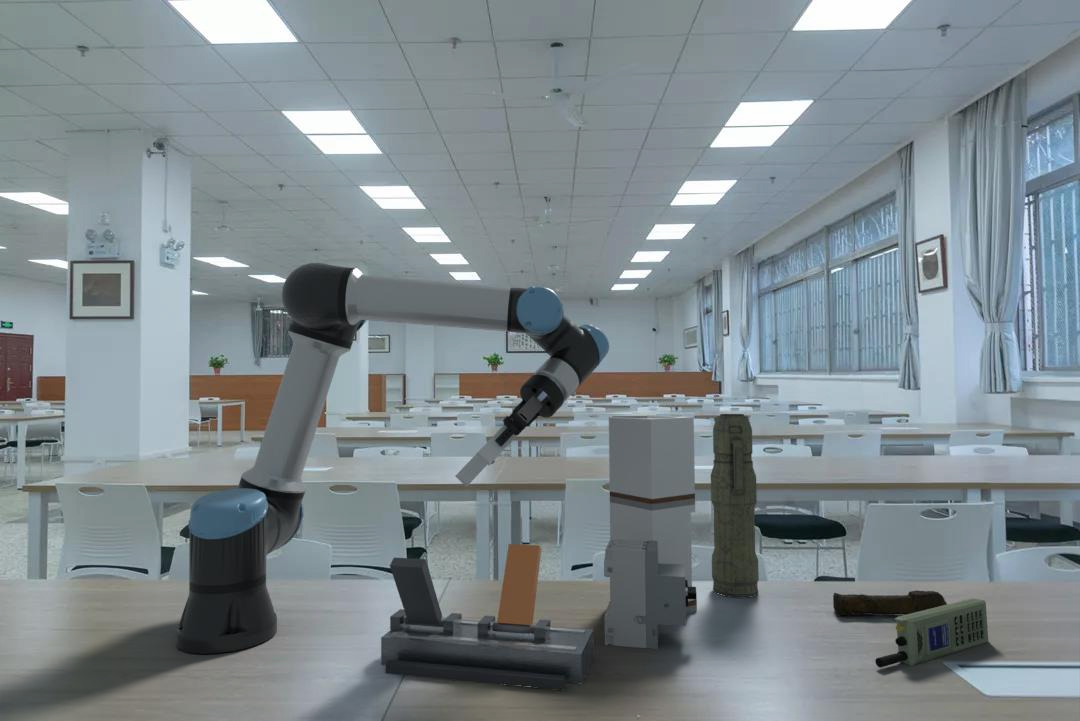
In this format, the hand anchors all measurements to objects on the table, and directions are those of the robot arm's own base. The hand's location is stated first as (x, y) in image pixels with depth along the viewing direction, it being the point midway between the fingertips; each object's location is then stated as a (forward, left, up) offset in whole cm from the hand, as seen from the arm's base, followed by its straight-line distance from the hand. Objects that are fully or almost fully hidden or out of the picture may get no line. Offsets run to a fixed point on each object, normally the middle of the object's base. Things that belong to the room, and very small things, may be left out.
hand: (471, 470), depth 114 cm
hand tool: (+68, +28, -28) cm, 79 cm away
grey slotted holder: (+5, -7, -27) cm, 29 cm away
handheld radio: (+70, +10, -28) cm, 76 cm away
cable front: (+5, -14, -27) cm, 31 cm away
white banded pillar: (+27, +23, -27) cm, 45 cm away
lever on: (-5, -7, -22) cm, 24 cm away
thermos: (+42, +37, -27) cm, 62 cm away
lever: (+9, -7, -22) cm, 25 cm away
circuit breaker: (+28, +7, -27) cm, 40 cm away
